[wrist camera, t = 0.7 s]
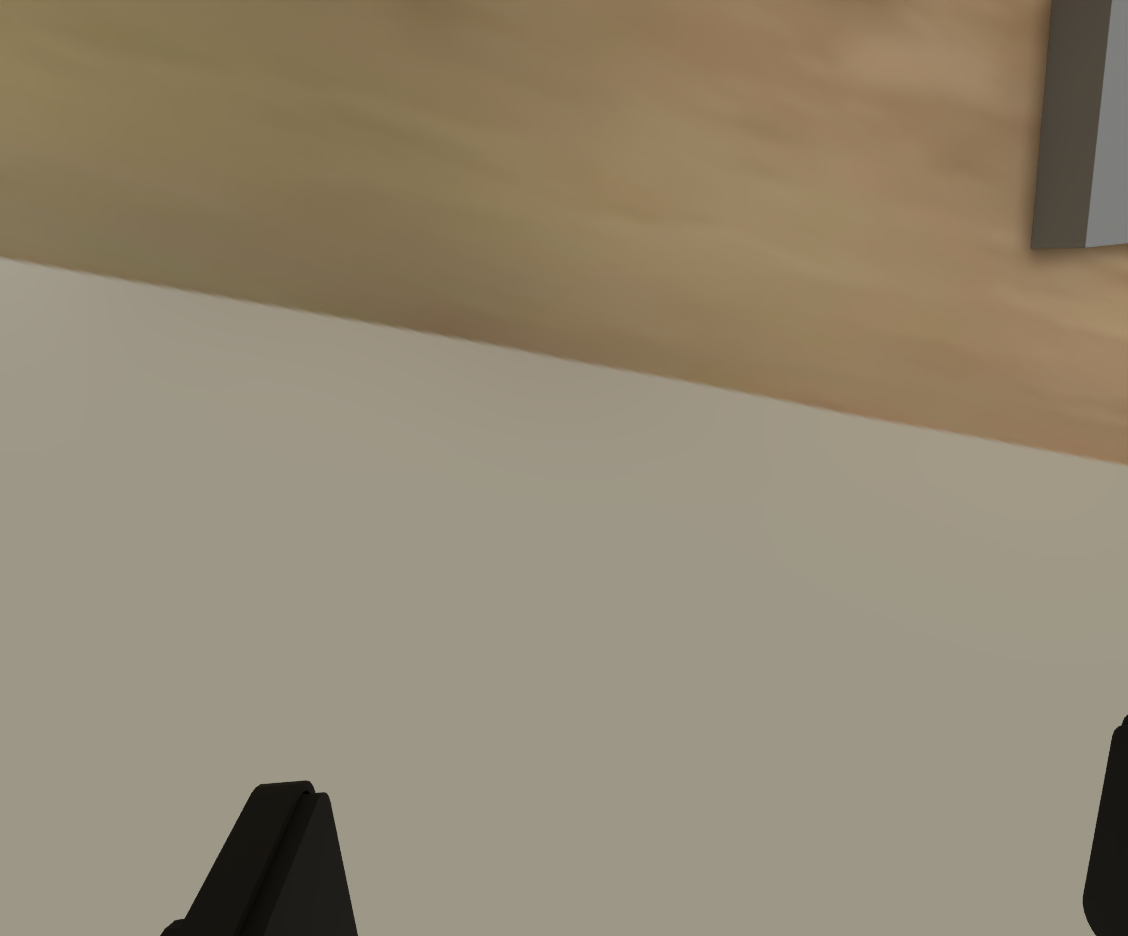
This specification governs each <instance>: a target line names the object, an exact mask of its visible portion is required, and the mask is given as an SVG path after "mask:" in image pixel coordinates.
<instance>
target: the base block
mask: <svg viewBox="0 0 1128 936" xmlns="http://www.w3.org/2000/svg"><path fill="white" fill-rule="evenodd" d="M1125 243H1128V0H1052V8H1051V19H1050V31H1049V42H1048V54H1047V66H1046V77H1045V89H1044V100H1043V112H1042V124H1041V135H1040V147H1039V158H1038V170H1037V181H1036V193H1035V205H1034V216H1033V228H1032V239H1031V248H1087V247H1096V246H1106V245H1115V244H1125Z"/></svg>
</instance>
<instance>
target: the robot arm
mask: <svg viewBox="0 0 1128 936" xmlns="http://www.w3.org/2000/svg"><path fill="white" fill-rule="evenodd" d="M1083 908H1084V913H1085V915H1086V918H1087V921H1088V923H1089V925H1090V927H1091V929H1092V930H1093V932H1094V933H1095V935H1096V936H1128V715H1127V716H1126V717H1125V718H1124V720H1123V723H1122V725H1121V726H1119V727H1118V728H1116V729H1115V730H1114V733H1113V736H1112V740H1111V746H1110V751H1109V757H1108V762H1107V768H1106V773H1105V779H1104V785H1103V790H1102V795H1101V800H1100V806H1099V811H1098V817H1097V823H1096V828H1095V833H1094V839H1093V844H1092V850H1091V855H1090V861H1089V866H1088V872H1087V877H1086V883H1085V888H1084V894H1083ZM160 936H358V934H357V929H356V924H355V920H354V915H353V910H352V905H351V900H350V895H349V890H348V885H347V881H346V875H345V870H344V866H343V861H342V856H341V851H340V846H339V841H338V836H337V831H336V826H335V822H334V817H333V812H332V807H331V802H330V799H329V796H328V795H327V793H324V792H323V793H315V790H314V787H313V785H312V784H311V783H310V781H295V782H283V783H271V784H260V785H259V786H257V787H256V788H255V789H254V791H253V792H252V793H251V795H250V797H249V799H248V801H247V803H246V804H245V806H244V808H243V811H242V812H241V814H240V816H239V818H238V820H237V821H236V823H235V825H234V827H233V829H232V831H231V833H230V835H229V836H228V838H227V840H226V842H225V844H224V846H223V848H222V850H221V852H220V853H219V855H218V857H217V859H216V861H215V863H214V865H213V867H212V868H211V870H210V872H209V874H208V876H207V878H206V880H205V882H204V883H203V885H202V887H201V889H200V891H199V893H198V895H197V897H196V898H195V900H194V902H193V904H192V906H191V908H190V910H189V912H188V914H187V915H186V917H185V919H180V920H175V921H174V922H173V923H171V924H170V925H169V926H168V927H167V928H165V929H164V931H163V932H162V934H161V935H160Z"/></svg>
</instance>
